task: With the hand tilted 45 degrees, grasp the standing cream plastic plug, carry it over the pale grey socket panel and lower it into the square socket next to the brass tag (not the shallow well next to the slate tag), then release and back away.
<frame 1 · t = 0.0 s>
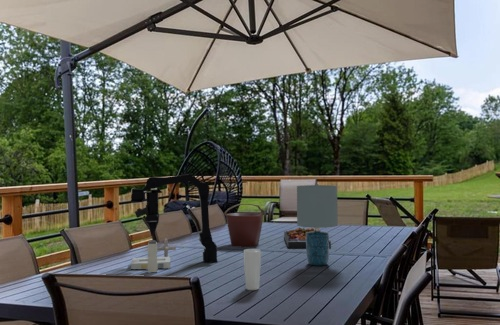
hand: (152, 233, 240), 15 cm above the table, tool pointing down, fingers open, 9 cm apart
plug: (152, 271, 221), on the table
socket panel: (151, 266, 233), on the table
drinking glass: (252, 289, 188), on the table
lamp: (317, 264, 234), on the table
pipe connector: (166, 258, 254), on the table
food platter: (305, 243, 303), on the table
bucket: (244, 245, 295), on the table
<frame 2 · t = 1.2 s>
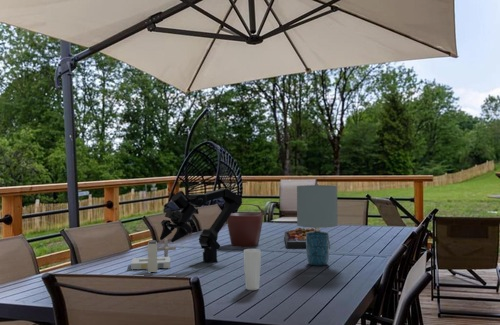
hand: (166, 240, 226), 13 cm above the table, tool tilted 45°, fingers open, 9 cm apart
nothing on the table moved.
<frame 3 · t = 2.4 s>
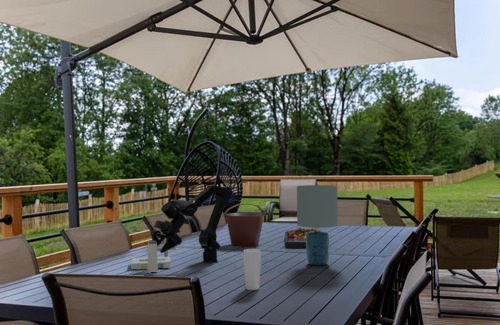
hand: (155, 251, 222), 9 cm above the table, tool tilted 45°, fingers open, 9 cm apart
nothing on the table moved.
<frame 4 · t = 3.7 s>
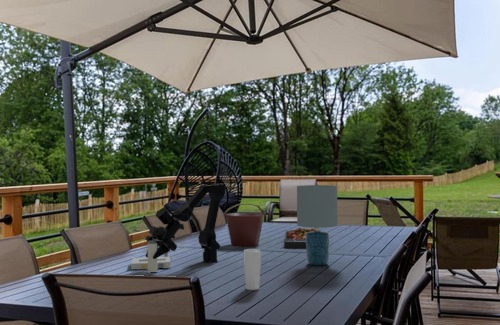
hand: (149, 257, 220), 7 cm above the table, tool tilted 45°, fingers closed on plug, 5 cm apart
plug: (152, 271, 221), on the table, touching gripper
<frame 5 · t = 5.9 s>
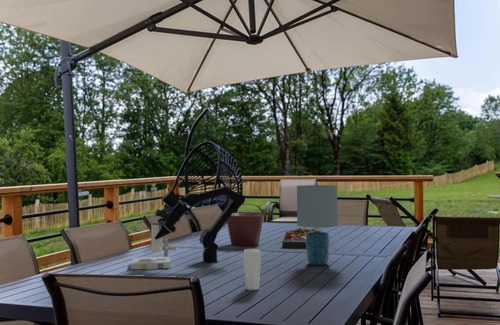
hand: (154, 238, 234), 13 cm above the table, tool tilted 45°, fingers closed on plug, 5 cm apart
plug: (157, 251, 235), point 7 cm above the table, touching gripper
when the fingers open (7 cm above the table, at t = 8.3 s): plug stays where it is, resting in socket panel.
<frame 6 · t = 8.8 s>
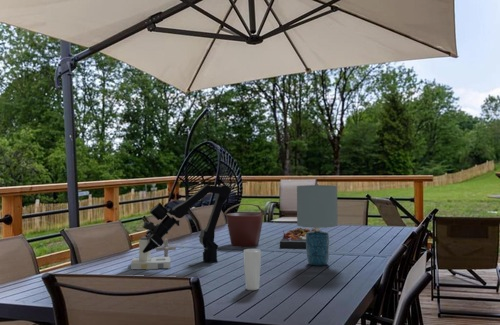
hand: (141, 250, 232), 8 cm above the table, tool tilted 45°, fingers open, 9 cm apart
plug: (145, 266, 233), resting in socket panel
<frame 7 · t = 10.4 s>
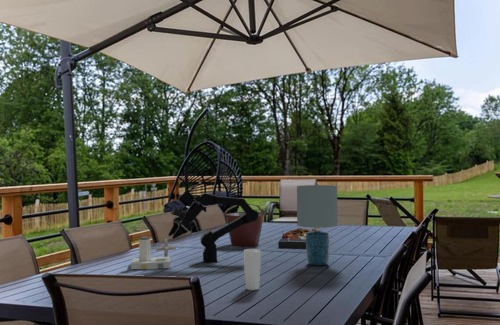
hand: (170, 236, 238), 13 cm above the table, tool tilted 45°, fingers open, 9 cm apart
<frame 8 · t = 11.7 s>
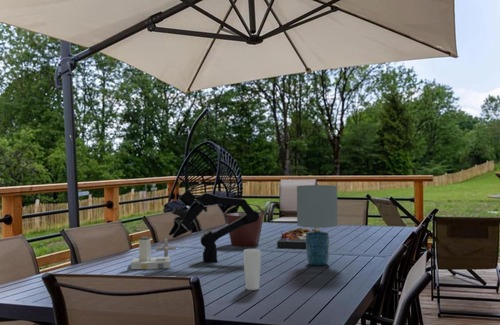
hand: (171, 236, 239), 14 cm above the table, tool tilted 45°, fingers open, 9 cm apart
at the end: plug 0.1 cm from the target spot on the socket panel, point 0.0 cm above the socket panel's base; plug tilted 0°; the gripper is holding nothing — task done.
